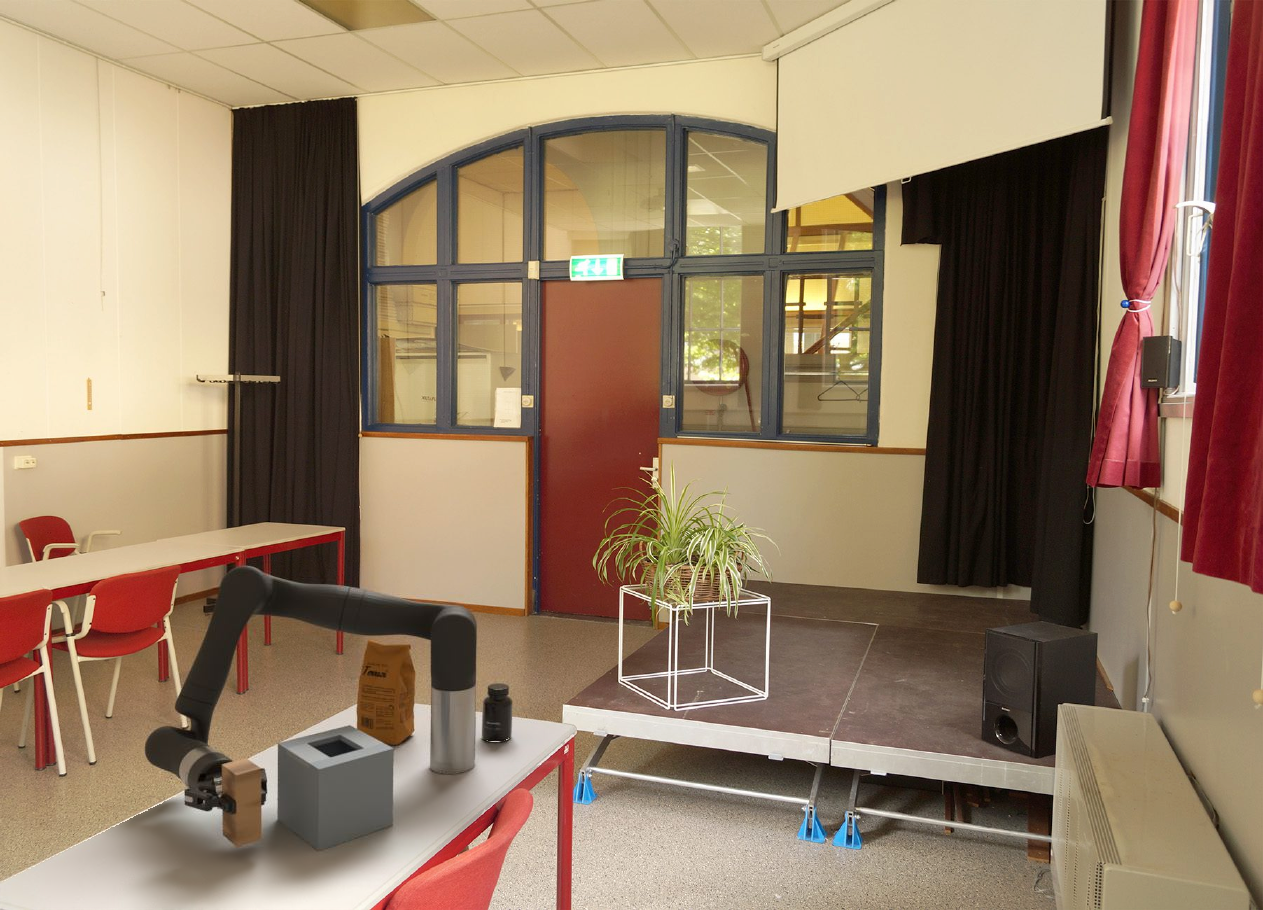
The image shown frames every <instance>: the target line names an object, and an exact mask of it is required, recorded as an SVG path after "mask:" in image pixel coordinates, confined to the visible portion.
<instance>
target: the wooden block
mask: <svg viewBox="0 0 1263 910" xmlns="http://www.w3.org/2000/svg"><path fill="white" fill-rule="evenodd" d="M261 768H262V767H260V766H259V765H257V764H255V763H254V762H253V761H251V760H250V759H249V758H247V757H244V758H241V759H237V760H233V762H229V763H225V764H222V790H223V791H225V795H226V794H228V795H229V796H230V797H231V798H233V799H234V800H235V801H236V814H233V815H231V814H230V813H226V812H224V811H223V810H222V809H221V811H222V813H221V814H222V815H221V816H222V817H221V818H222V822H221V823H222V836H223V837H224V838H225V839H226V840H227V841H229V842H230V843H231V844H232V845H233V846H235V847H236V848H239V847H243V846H245V845H249V844H251V843H255V842H258V841H261V840H262V839H263V838H262V834H263V833H262V832H263V831H262V829H263V828H262V827H263V826H262V806H261Z"/></svg>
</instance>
